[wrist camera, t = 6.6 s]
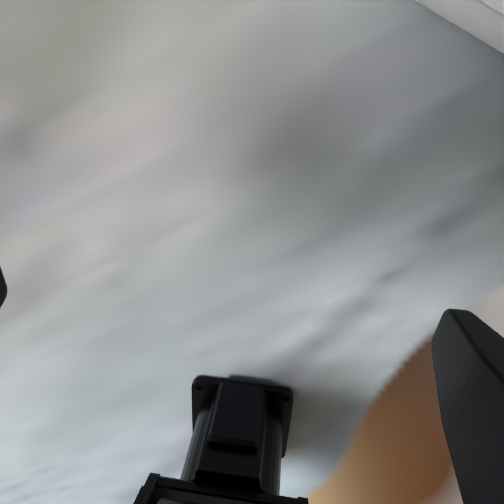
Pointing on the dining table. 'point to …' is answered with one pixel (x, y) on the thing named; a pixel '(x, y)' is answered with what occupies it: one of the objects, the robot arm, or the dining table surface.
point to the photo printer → (473, 18)
